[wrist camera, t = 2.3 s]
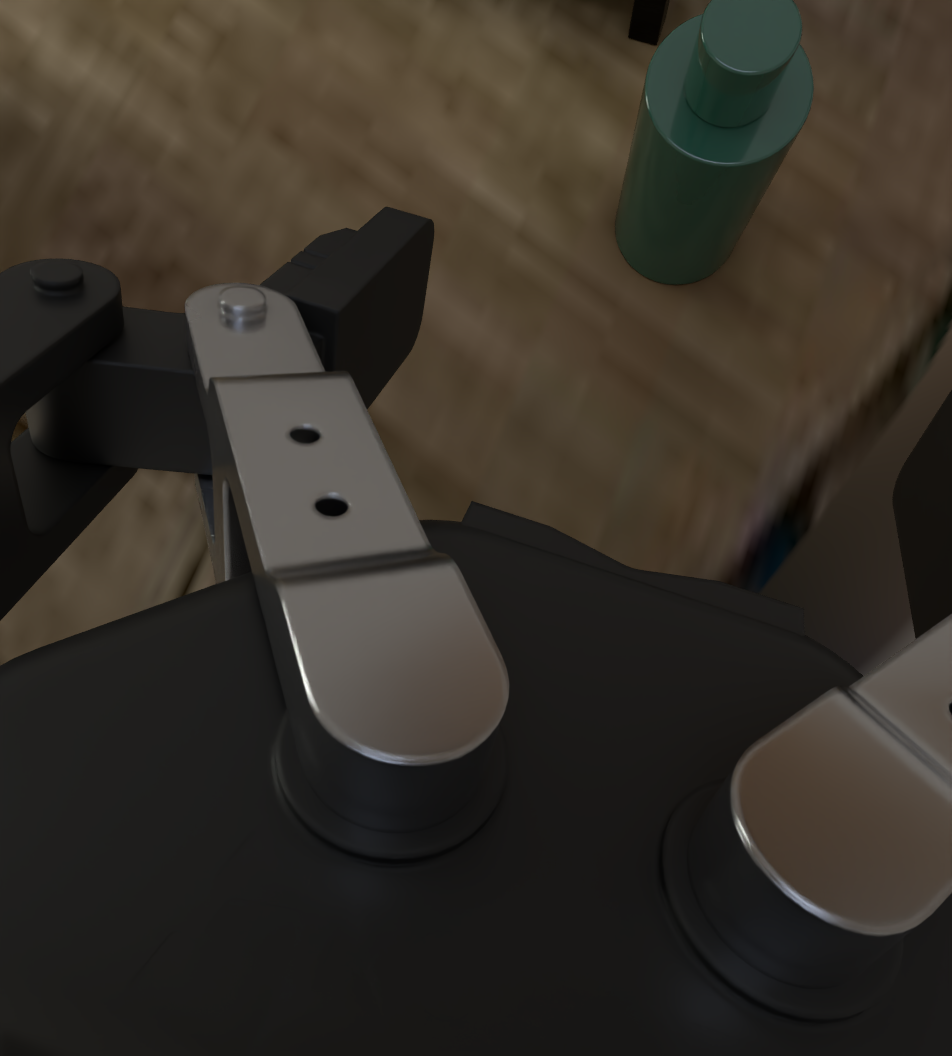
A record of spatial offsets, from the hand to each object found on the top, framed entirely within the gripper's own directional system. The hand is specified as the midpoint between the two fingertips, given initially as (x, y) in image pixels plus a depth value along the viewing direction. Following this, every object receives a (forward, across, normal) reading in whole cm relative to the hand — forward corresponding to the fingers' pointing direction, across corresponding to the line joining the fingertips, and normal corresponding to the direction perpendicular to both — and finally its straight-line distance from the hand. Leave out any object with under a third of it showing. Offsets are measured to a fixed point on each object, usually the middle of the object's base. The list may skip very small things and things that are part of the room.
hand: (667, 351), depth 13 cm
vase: (+22, 0, +6) cm, 23 cm away
